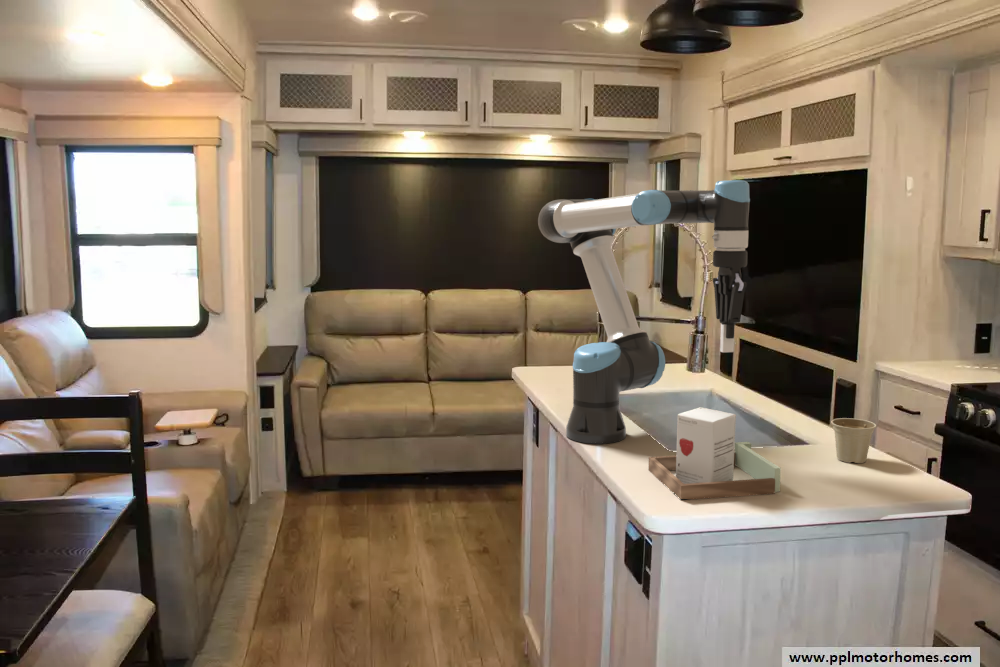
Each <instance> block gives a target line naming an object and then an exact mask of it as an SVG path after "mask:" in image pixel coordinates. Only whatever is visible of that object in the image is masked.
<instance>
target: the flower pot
mask: <svg viewBox="0 0 1000 667" xmlns="http://www.w3.org/2000/svg"><path fill="white" fill-rule="evenodd" d="M830 422H831V423H830V424H832V429H833V431H834V438H835V450H836V451H835V452H836V453H835V454H836V458H837V460H838V461H841V462H844V463H855V464H862V463H866V461H867V460H868V459H867V458H868V453H869V448H870V444H871V441H872V440H871V439H872V436H873V434H874V431H875V429H876V428H877V424H876V423H875V422H872V421H869V420H866V419H859V418H852V417H851V418H849V417H848V418H847V417H842V418H841V417H840V418H834V419H832V420H831V421H830Z"/></svg>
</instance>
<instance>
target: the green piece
mask: <svg viewBox="0 0 1000 667" xmlns="http://www.w3.org/2000/svg"><path fill="white" fill-rule="evenodd" d="M734 452H735V453H736V463H735V467H738V468H739V469H741V470H742V471H743V472H744V473H747V474H748V475H749V476H750V477H752V478H753V479H764V478H774V479H775V493H777V492H778V493H779V492H780V490H781V473H782V472H781V471H782V470H781V467H780V466H778V465H777V464H775V463H774V462H772V461H770V460H769V459H767V458H765V457H764V456H762V455H760V454H759V453H758V452H756V451H755V450H754V449H752V443H751V442H749V441H743V442H742V441H741V442H739V441H738V442H735V444H734Z"/></svg>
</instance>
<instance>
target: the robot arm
mask: <svg viewBox="0 0 1000 667" xmlns="http://www.w3.org/2000/svg"><path fill="white" fill-rule="evenodd" d="M714 186H715V187H714V189H712V190H708V189H707V190H701V189H700V190H699V189H698V190H687V189H686V190H685V189H684V190H676V189H675V190H660V189H659V190H658V189H648V190H642V191H640V192H639V193H638V192H637V193H633V194H632V193H631V194H627V195H619V196H612V197H606V198H599V199H598V198H597V199H594V198H584V199H565V198H563V199H555V200H552V201H549V202H547V203H546V204H545V205H544V206H543V207H542V208H541V210H540V212H539V214H538V218H537V224H538V229H539V231H540V233H541V234H542V235H543V237H544V238H545V239H547V240H549V241H551V242H554V243H558V244H570V246H571V250H572V252H573V254H574V255H575V256H577V257H580V258H581V261H582V264H583V267H584V270H585V273H586V277H587V279H588V283H589V285H590V288H591V289H590V290H591V291H592V294H593V297H594V300H595V304H596V306H597V309H598V311H599V312H598V313H599V314H600V318H601V321H602V324H603V327H604V330H605V333H606V336H607V340H606V341H600V342H591V343H587V344H583V345H581V346H579V347H578V348H577V349H575V351H574V353H573V362H572V374H573V375H572V376H573V377H572V378H573V380H572V382H573V384H572V388H573V390H572V391H573V393H572V394H573V396H572V397H573V398H572V399H573V401H572V404H573V406H572V409H571V412H570V414H569V418H568V421H567V424H566V427H565V428H566V432H565V434H566V437H567V438H568V439H570V440H572V441H575V442H578V443H584V444H597V445H598V444H599V445H601V444H612V443H617V442H618V443H619V442H621V441H623V440H625V439H626V436H627V429H626V425H625V424H626V423H625V421H624V418H623V415H622V411H621V407H620V392H625V391H631V390H635V389H644V388H646V387H647V388H648V387H649V386H652V385H655V384H656V383H657V382H659V381H660V379H661V378H662V377H663V373H664V371H665V370H666V357H665V353H664V351H663V349H662V347H661V346H660V345H659V344H657V343H656V342H655V341H650V337H649V335H648V332H647V331H646V330H644V329H642V328H640V327H639V323H638V321H637V318H636V315H635V313H634V310H633V306H632V304H631V302H630V298H629V295H628V293H627V290H626V287H625V283H624V281H623V277H622V275H621V272H620V270H619V267H618V263H617V261H616V258H615V255H614V251H613V248H612V245H613V243H614V241H615V237H614V235H615V233H616V230H617V229H623V228H633V227H640V226H641V227H642V226H652V225H653V226H654V225H663V224H665V225H666V224H667V225H668V224H700V223H701V224H707V223H709V224H713V235H712V239H713V248H715V249H716V250H715V249H714V251H712V266H713V267H715V268H718V272H717V277H713V278H712V284H713V288H714V303H715V314H716V315H715V317H716V319H717V320H719V323H720V346H719V352H721V353H734V352H735V331H736V330H735V329H736V325H737V323H741V317H742V312H743V304H744V298H745V292H746V290H747V286H748V283H747V282H746V281H743V280H742V272H741V271H742V270H741V269H742V268H746V267H747V266H748V250H746V249H747V248H748V247H749V215H750V214H749V213H750V202H751V198H750V183H748V181H746V180H744V179H743V180H742V179H741V180H717V181H716V182H715V185H714Z"/></svg>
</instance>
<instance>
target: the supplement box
mask: <svg viewBox="0 0 1000 667" xmlns="http://www.w3.org/2000/svg"><path fill="white" fill-rule="evenodd" d="M676 419H677V420H676V422H677V424H676V425H677V426H676V470H675V476H676V477H677V478H678V479H679V480H680V481H681V482H682V483H684V484H689V483H704V482H719V481H734V467H735V466H734V452H735V443H736V440H735V439H736V424H737V423H736V422H737V421H736V420H737V415H736V414H735V413H730V412H726V411H721V410H716V409H710V408H706V407H703V406H701V407H700V406H699V407H697V408H694V409H690V410H687V411H684V412H683V411H682V412H680V413H678V414H677V418H676Z"/></svg>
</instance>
